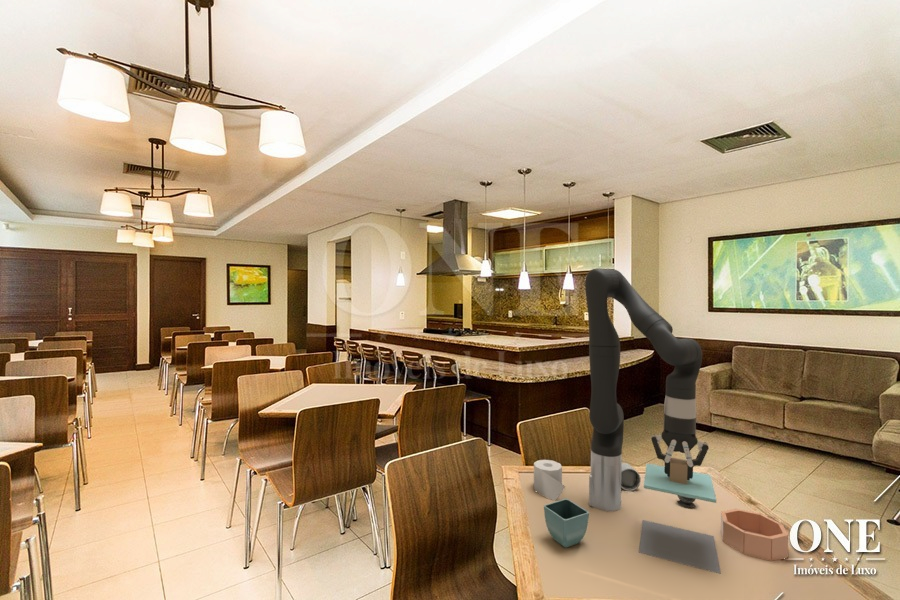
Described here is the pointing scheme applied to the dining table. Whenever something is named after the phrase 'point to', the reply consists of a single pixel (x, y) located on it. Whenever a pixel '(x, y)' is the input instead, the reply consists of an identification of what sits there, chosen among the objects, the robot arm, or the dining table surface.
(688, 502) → the dark grey chess piece
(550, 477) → the toilet tissue
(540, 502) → the dining table surface
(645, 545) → the mat
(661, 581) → the dining table surface
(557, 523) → the flower pot
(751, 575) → the dining table surface
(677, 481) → the lid
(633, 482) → the ceramic mug
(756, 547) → the bowl
